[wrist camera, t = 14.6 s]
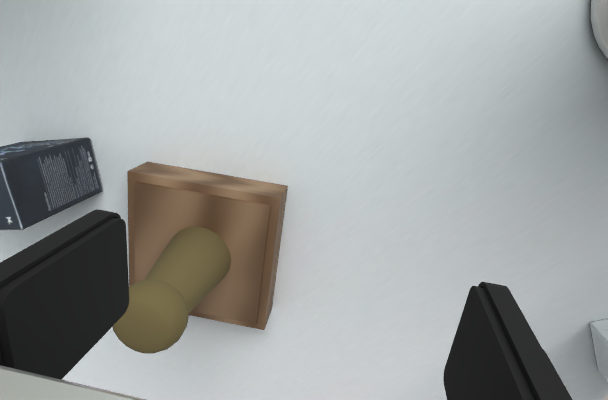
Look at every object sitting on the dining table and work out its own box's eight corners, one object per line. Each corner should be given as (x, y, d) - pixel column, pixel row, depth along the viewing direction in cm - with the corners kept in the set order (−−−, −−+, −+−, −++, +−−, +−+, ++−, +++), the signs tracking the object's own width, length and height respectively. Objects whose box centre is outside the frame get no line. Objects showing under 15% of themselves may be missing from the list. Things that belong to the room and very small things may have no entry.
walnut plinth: (287, 186, 38) (279, 199, 34) (271, 308, 43) (263, 332, 39) (147, 161, 39) (125, 172, 35) (147, 284, 44) (127, 305, 40)
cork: (194, 294, 39) (134, 379, 28) (156, 244, 37) (78, 315, 27) (243, 267, 37) (198, 348, 27) (205, 215, 36) (142, 278, 25)
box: (91, 135, 39) (0, 161, 29) (105, 190, 41) (23, 232, 31) (19, 140, 40) (-91, 166, 30) (36, 194, 42) (-63, 235, 32)
